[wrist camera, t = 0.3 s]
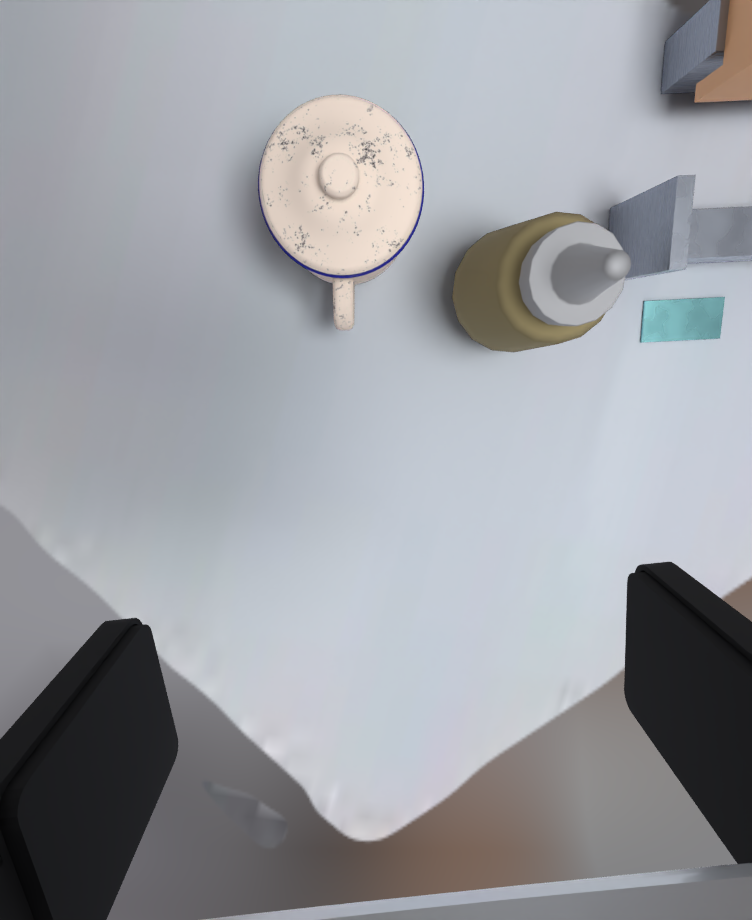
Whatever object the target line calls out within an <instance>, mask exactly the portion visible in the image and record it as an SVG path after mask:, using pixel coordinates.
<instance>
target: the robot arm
mask: <svg viewBox="0 0 752 920" xmlns="http://www.w3.org/2000/svg"><path fill="white" fill-rule="evenodd" d="M624 691H625V698H626V701H627V704H628V707H629V709H630V711H631V712H632V714H633V715H634V717H635V718H636V719H637V721H638V722H639V724H640V725H641V726H642V728H643V730H644V731H645V732H646V734H647V735H648V737H649V738H650V740H651V741H652V742H653V744H654V745H655V747H656V748H657V750H658V751H659V752H660V754H661V755H662V756H663V758H664V759H665V761H666V762H667V763H668V765H669V766H670V768H671V769H672V771H673V772H674V774H675V775H676V777H677V778H678V779H679V781H680V782H681V784H682V785H683V787H684V788H685V789H686V791H687V792H688V794H689V795H690V797H691V798H692V799H693V801H694V802H695V804H696V805H697V806H698V808H699V809H700V811H701V812H702V814H703V815H704V816H705V818H706V819H707V821H708V822H709V824H710V825H711V826H712V828H713V829H714V831H715V832H716V833H717V835H718V836H719V838H720V839H721V841H722V842H723V844H724V845H725V846H726V848H727V849H728V851H729V852H730V853H731V855H732V856H733V858H734V859H735V861H736V862H737V863H738V864H733V865H721V866H711V867H700V868H690V869H680V870H670V871H660V872H650V873H640V874H629V875H620V876H609V877H600V878H589V879H579V880H569V881H559V882H548V883H538V884H528V885H519V886H509V887H500V888H490V889H481V890H471V891H462V892H453V893H442V894H434V895H424V896H414V897H405V898H395V899H386V900H377V901H367V902H358V903H348V904H339V905H330V906H320V907H311V908H302V909H293V910H284V911H275V912H266V913H257V914H248V915H239V916H231V917H221V918H212V919H204V920H752V622H751V621H750V620H749V619H747V618H746V617H744V616H743V615H742V614H740V613H739V612H738V611H736V610H735V609H734V608H732V607H731V606H730V605H729V604H727V603H726V602H725V601H723V600H722V599H721V598H719V597H718V596H717V595H715V594H714V593H713V592H711V591H710V590H709V589H707V588H706V587H705V586H703V585H702V584H701V583H699V582H698V581H697V580H695V579H694V578H693V577H691V576H690V575H689V574H687V573H686V572H685V571H683V570H682V569H681V568H679V567H678V566H677V565H675V564H674V563H672V562H662V563H653V564H643V565H639V566H638V567H637V568H636V571H635V573H631V574H630V575H629V577H628V581H627V613H626V648H625V684H624ZM177 751H178V738H177V733H176V729H175V725H174V721H173V717H172V713H171V708H170V704H169V700H168V696H167V692H166V688H165V684H164V680H163V676H162V672H161V668H160V664H159V659H158V655H157V651H156V647H155V643H154V639H153V635H152V631H151V628H150V627H149V626H148V625H142V623H141V621H140V620H139V619H137V618H131V619H121V620H113V621H105V622H104V623H103V624H102V625H101V626H100V627H99V628H98V629H97V630H96V631H95V632H94V633H93V635H92V636H91V637H90V638H89V639H88V640H87V642H86V643H85V644H84V645H83V646H82V647H81V648H80V649H79V651H78V652H77V653H76V654H75V655H74V656H73V657H72V659H71V660H70V661H69V662H68V663H67V664H66V666H65V667H64V668H63V669H62V670H61V671H60V672H59V673H58V674H57V676H56V677H55V678H54V679H53V680H52V681H51V682H50V684H49V685H48V686H47V687H46V688H45V689H44V690H43V691H42V693H41V694H40V695H39V696H38V697H37V698H36V699H35V701H34V702H33V703H32V704H31V705H30V706H29V707H28V709H27V710H26V711H25V712H24V713H23V714H22V716H20V718H19V719H18V720H17V721H16V722H15V723H14V725H13V726H12V727H11V728H10V729H9V730H8V731H7V732H6V734H5V735H4V736H3V737H2V738H1V739H0V920H106V919H107V917H108V915H109V912H110V910H111V907H112V905H113V903H114V900H115V898H116V896H117V894H118V891H119V889H120V887H121V884H122V882H123V880H124V878H125V875H126V873H127V871H128V868H129V866H130V864H131V861H132V859H133V857H134V854H135V852H136V850H137V847H138V845H139V843H140V841H141V838H142V836H143V834H144V831H145V829H146V827H147V824H148V822H149V820H150V817H151V815H152V813H153V810H154V808H155V806H156V803H157V801H158V799H159V797H160V794H161V792H162V790H163V787H164V785H165V783H166V780H167V778H168V776H169V773H170V771H171V769H172V766H173V764H174V762H175V759H176V756H177Z"/></svg>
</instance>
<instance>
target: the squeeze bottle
mask: <svg viewBox="0 0 752 920" xmlns="http://www.w3.org/2000/svg"><path fill="white" fill-rule="evenodd" d="M630 266H631V260H630V257H629V255H628V254H627V253H626V252H624V250H623V248H622V247H621V245H620V244H619V242H618V241H617V239H616V238H615V236H614V234H613V233H611V232H610V231H608V230H607V229H605V228H603V227H602V226H600V225H599V224H597V223H594V222H592V221H590V220H589V219H587V218H586V217H584V216H582V215H580V214H571V213H562V212H554V213H551V214H548V215H544V216H541V217H538V218H535V219H531V220H528V221H525V222H522V223H518V224H515V225H512V226H509V227H506V228H503V229H500V230H496V231H493V232H490V233H487V234H486V235H484V236H483V237H482V238H481V239H480V240H479V241H477V242H476V243H475V244H474V245H473V246H472V247H470V248H469V249H468V250H467V252H466V254H465V255H464V257H463V259H462V261H461V263H460V265H459V267H458V269H457V270H456V272H455V279H454V287H453V295H452V299H453V303H454V306H455V310H456V314H457V318H458V321H459V323H460V324H461V325H462V327H463V328H464V329H465V330H466V332H467V333H468V334H469V336H470V337H471V338H472V339H473V340H474V341H476V342H478V343H480V344H482V345H483V346H485V347H487V348H489V349H491V350H496V351H506V352H518V351H523V350H529V349H534V348H539V347H544V346H550V345H555V344H559V343H562V342H566V341H569V340H572V339H575V338H579V337H581V336H582V335H584V334H585V333H586V332H587V331H589V330H590V329H591V328H592V327H594V326H595V325H596V324H597V323H599V322H600V321H601V319H602V318H603V316H604V315H605V313H606V312H607V311H608V310H609V309H611V308H612V306H613V305H614V303H615V301H616V300H617V298H618V297H619V295H620V293H621V292H622V290H623V285H624V280H625V276H626V275H627V274H628V272H629V270H630Z"/></svg>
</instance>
